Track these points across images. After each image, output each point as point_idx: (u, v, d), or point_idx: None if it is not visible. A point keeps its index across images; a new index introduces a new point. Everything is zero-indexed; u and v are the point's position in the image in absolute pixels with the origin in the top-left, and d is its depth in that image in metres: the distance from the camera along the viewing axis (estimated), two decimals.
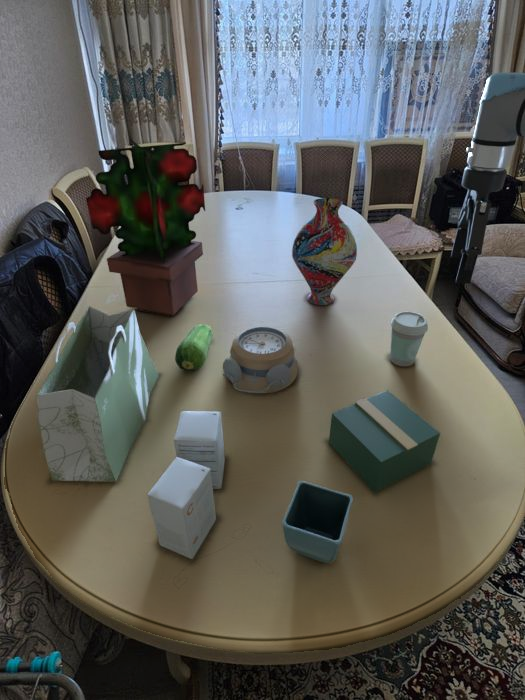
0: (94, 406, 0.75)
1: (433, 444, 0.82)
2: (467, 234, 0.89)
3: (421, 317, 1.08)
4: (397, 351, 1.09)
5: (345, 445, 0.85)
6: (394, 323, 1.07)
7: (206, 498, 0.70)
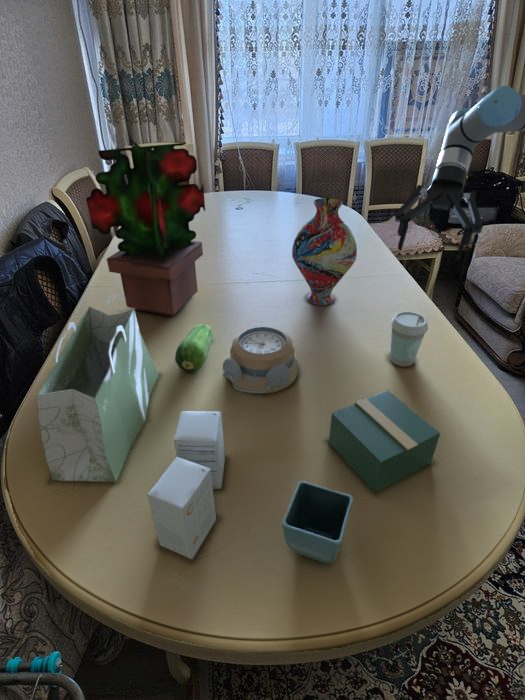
0: (94, 406, 0.75)
1: (433, 444, 0.82)
2: None
3: (421, 317, 1.08)
4: (397, 351, 1.09)
5: (345, 445, 0.85)
6: (394, 323, 1.07)
7: (206, 498, 0.70)
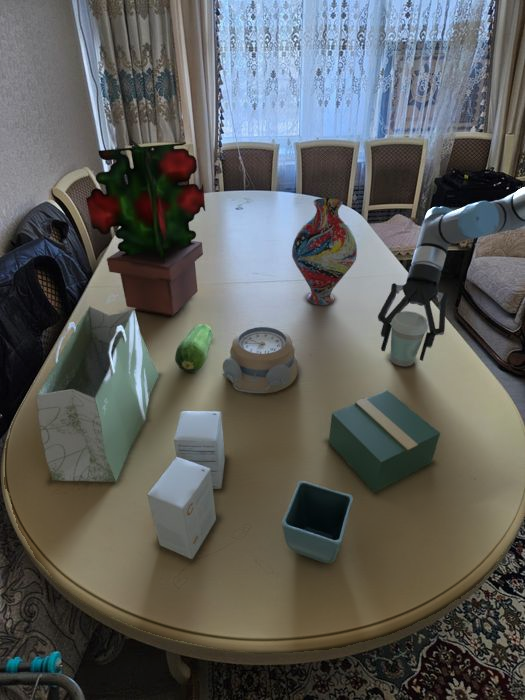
0: (94, 406, 0.75)
1: (433, 444, 0.82)
2: None
3: (421, 317, 1.08)
4: (397, 351, 1.09)
5: (345, 445, 0.85)
6: (394, 323, 1.07)
7: (206, 498, 0.70)
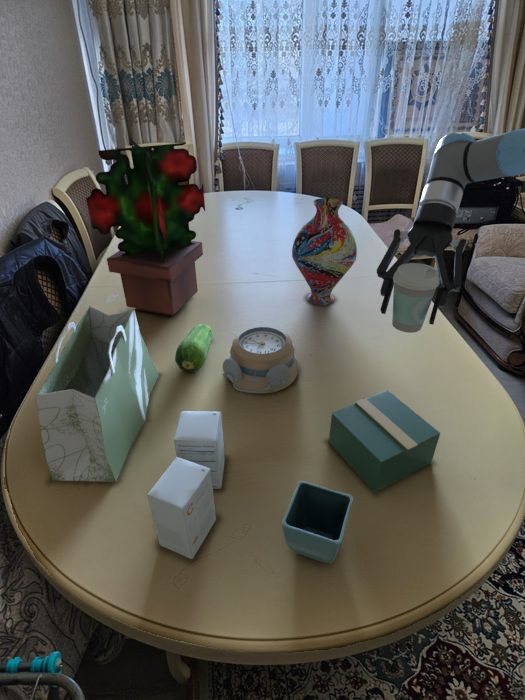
0: (94, 406, 0.75)
1: (433, 444, 0.82)
2: None
3: (431, 269, 0.85)
4: (401, 313, 0.87)
5: (345, 445, 0.85)
6: (397, 276, 0.84)
7: (206, 498, 0.70)
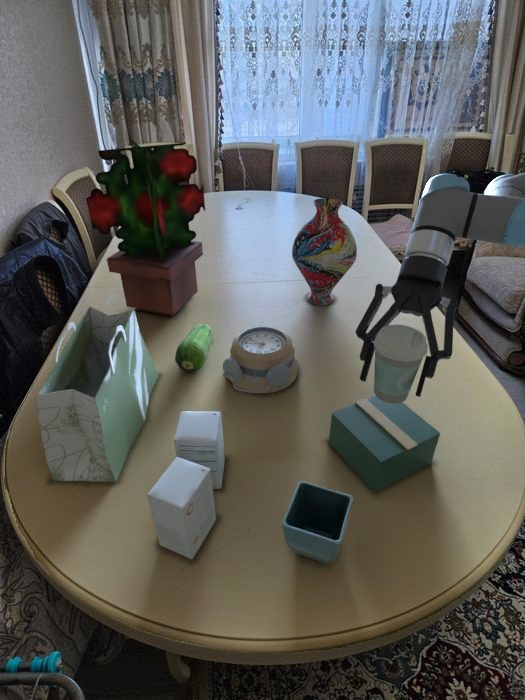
0: (94, 406, 0.75)
1: (433, 444, 0.82)
2: None
3: (418, 333, 0.74)
4: (383, 382, 0.75)
5: (345, 445, 0.85)
6: (378, 342, 0.73)
7: (206, 498, 0.70)
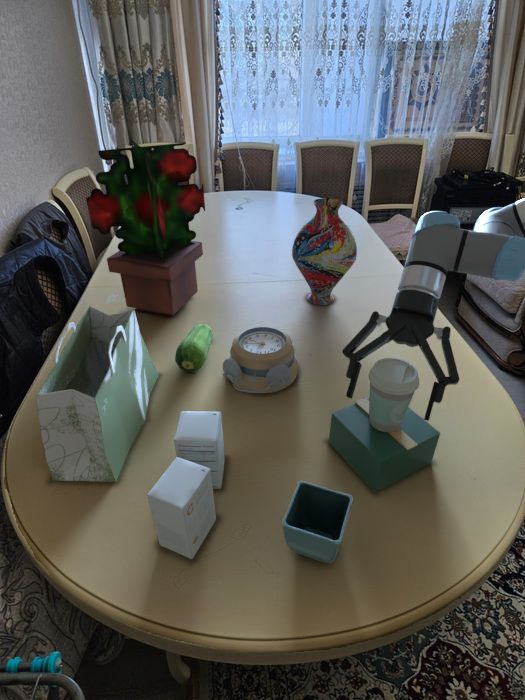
0: (94, 406, 0.75)
1: (433, 444, 0.82)
2: None
3: (410, 367, 0.77)
4: (377, 413, 0.79)
5: (345, 445, 0.85)
6: (372, 376, 0.77)
7: (206, 498, 0.70)
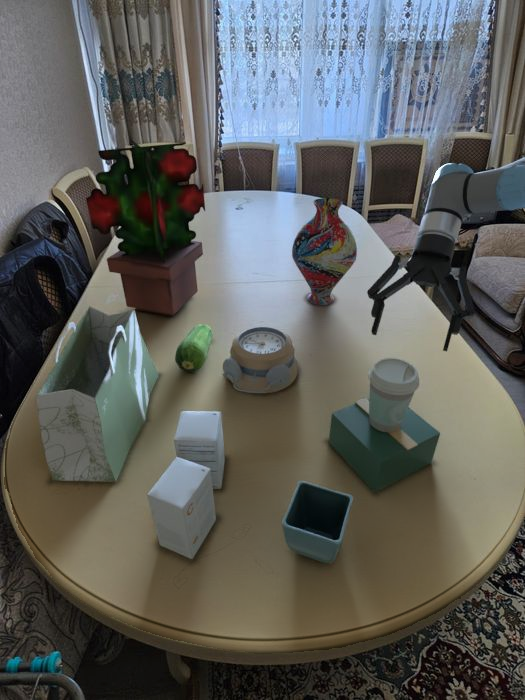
0: (94, 406, 0.75)
1: (433, 444, 0.82)
2: None
3: (410, 367, 0.77)
4: (377, 413, 0.79)
5: (345, 445, 0.85)
6: (372, 376, 0.77)
7: (206, 498, 0.70)
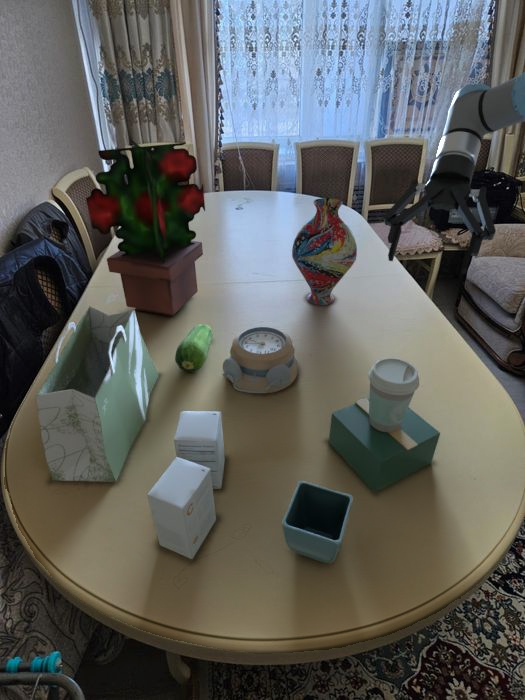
0: (94, 406, 0.75)
1: (433, 444, 0.82)
2: None
3: (410, 367, 0.77)
4: (377, 413, 0.79)
5: (345, 445, 0.85)
6: (372, 376, 0.77)
7: (206, 498, 0.70)
